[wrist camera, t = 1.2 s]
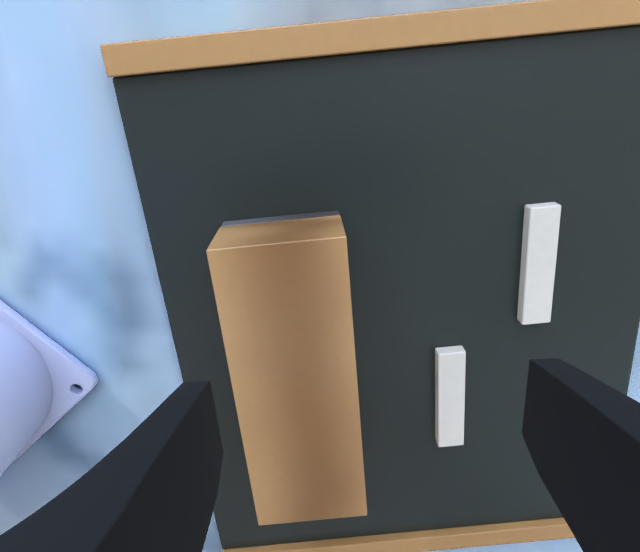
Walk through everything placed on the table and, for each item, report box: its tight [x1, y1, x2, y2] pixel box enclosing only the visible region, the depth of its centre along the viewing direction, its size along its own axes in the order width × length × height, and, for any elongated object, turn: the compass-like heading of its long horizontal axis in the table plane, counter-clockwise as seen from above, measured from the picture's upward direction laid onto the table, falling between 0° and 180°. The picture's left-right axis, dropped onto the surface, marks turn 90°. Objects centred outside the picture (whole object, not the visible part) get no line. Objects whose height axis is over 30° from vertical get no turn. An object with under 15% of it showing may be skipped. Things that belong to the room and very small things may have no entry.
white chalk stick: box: [517, 202, 561, 325], centre depth 19 cm, size 1×5×1 cm, turn 5°
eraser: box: [206, 210, 367, 525], centre depth 19 cm, size 4×12×4 cm, turn 5°
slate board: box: [100, 0, 640, 552], centre depth 21 cm, size 20×25×1 cm
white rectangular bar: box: [435, 345, 466, 447], centre depth 22 cm, size 1×5×1 cm, turn 5°
